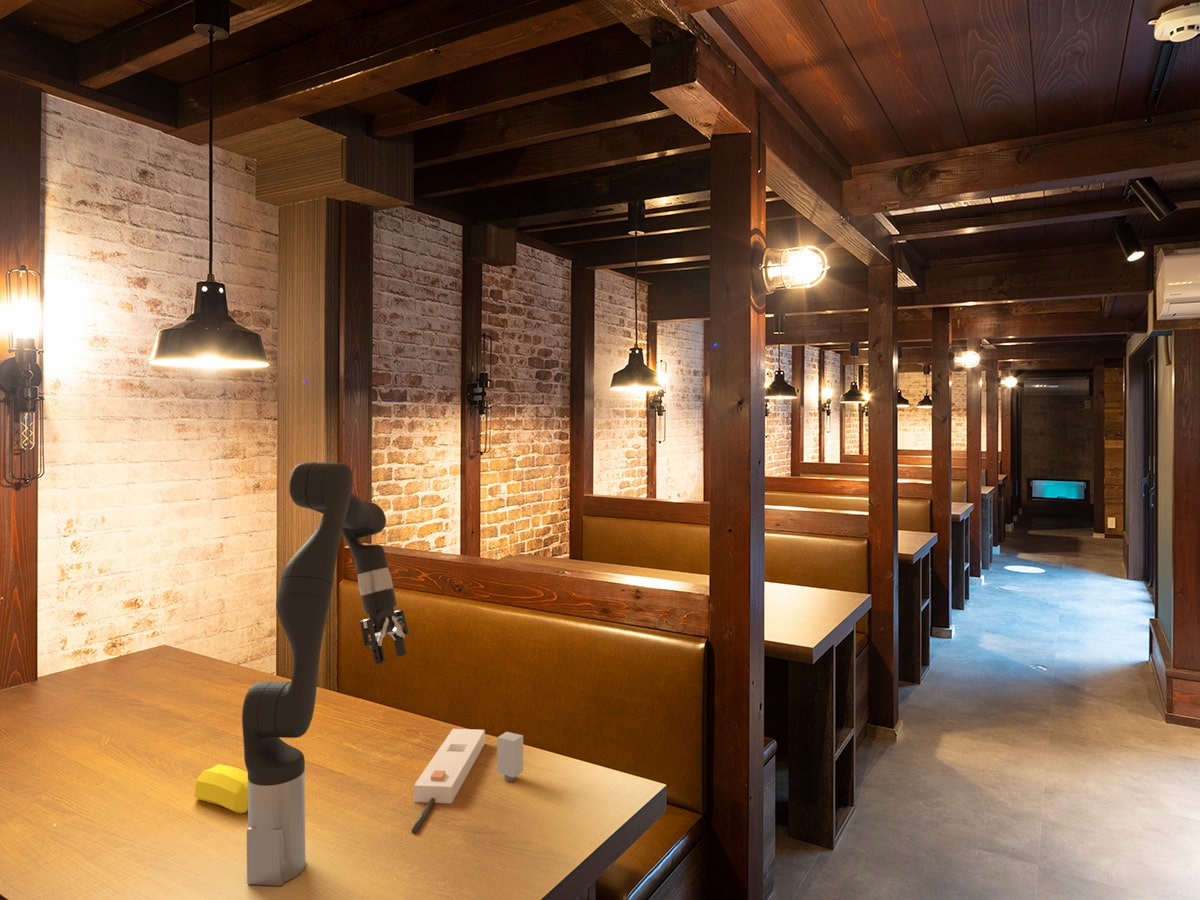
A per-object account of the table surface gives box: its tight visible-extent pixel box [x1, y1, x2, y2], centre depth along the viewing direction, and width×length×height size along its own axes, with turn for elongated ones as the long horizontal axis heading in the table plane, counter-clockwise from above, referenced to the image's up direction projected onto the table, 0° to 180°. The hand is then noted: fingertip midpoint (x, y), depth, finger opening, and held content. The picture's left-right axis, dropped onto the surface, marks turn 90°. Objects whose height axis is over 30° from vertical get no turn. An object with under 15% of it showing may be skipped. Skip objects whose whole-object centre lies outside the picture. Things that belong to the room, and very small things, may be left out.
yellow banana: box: [194, 763, 248, 815], centre depth 158 cm, size 18×7×8 cm
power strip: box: [411, 728, 486, 834], centre depth 167 cm, size 42×8×4 cm, turn 175°
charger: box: [496, 731, 524, 782], centre depth 169 cm, size 4×4×10 cm
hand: (391, 659), depth 176 cm, fingers open, 8 cm apart
